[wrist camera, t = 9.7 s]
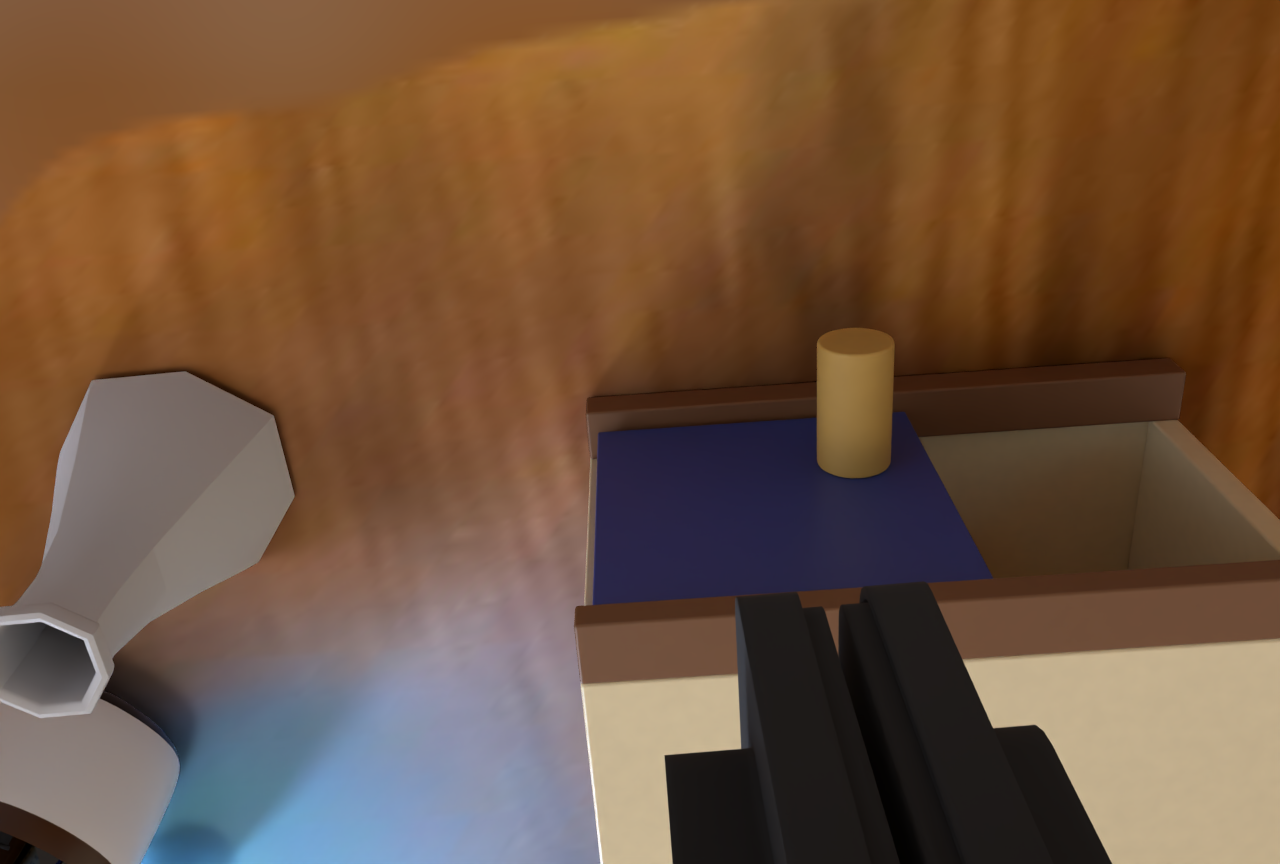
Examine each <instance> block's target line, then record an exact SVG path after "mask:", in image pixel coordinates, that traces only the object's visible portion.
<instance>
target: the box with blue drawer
mask: <svg viewBox="0 0 1280 864" xmlns="http://www.w3.org/2000/svg"><path fill="white" fill-rule="evenodd" d="M1185 378H1186V372H1185V371H1184V370H1183V369H1181V368H1180V367H1179V366H1178V365H1177V364H1176V363H1175V362H1173V361H1172V360H1171V359H1169V358H1163V359H1148V360H1134V361H1119V362H1104V363H1090V364H1075V365H1060V366H1046V367H1031V368H1016V369H1002V370H987V371H972V372H958V373H943V374H928V375H914V376H899V377H894V380H893V410H892V413H893V412H905V413H906V415H907V417H908V419H909V421H910V422H911V424H912V426H913V428H914V430H915V432H916V434H917V436H918V437H919V439H920V441H921V443H922V445H923V447H924V449H925V451H926V452H927V454H928V456H929V458H930V460H931V462H932V464H933V466H934V467H935V469H936V471H937V473H938V475H939V477H940V479H941V481H942V482H943V484H944V486H945V488H946V490H947V492H948V494H949V496H950V497H951V499H952V501H953V503H954V505H955V507H956V509H957V511H958V512H959V514H960V516H961V518H962V520H963V522H964V524H965V526H966V527H967V529H968V531H969V533H970V535H971V537H972V539H973V541H974V542H975V544H976V546H977V548H978V550H979V552H980V554H981V556H982V557H983V559H984V561H985V563H986V565H987V567H988V569H989V571H990V572H991V574H992V576H993V578H994V579H979V580H964V581H949V582H934V583H928V585H929V587H930V589H931V590H932V592H933V595H934V597H935V599H936V601H937V604H938V606H939V608H940V610H941V613H942V615H943V617H944V619H945V622H946V624H947V626H948V628H949V631H950V633H951V635H952V637H953V639H954V642H955V644H956V646H957V648H958V651H959V653H960V655H961V657H962V660H963V662H964V664H965V666H966V669H967V671H968V673H969V675H970V678H971V680H972V682H973V684H974V687H975V689H976V691H977V693H978V696H979V698H980V700H981V702H982V704H983V707H984V709H985V711H986V713H987V716H988V718H989V720H990V722H991V725H992V727H993V728H1002V727H1014V726H1026V725H1036V726H1038V727H1039V728H1040V729H1042V730H1043V731H1044V732H1045V734H1046V736H1047V737H1048V739H1049V740H1050V742H1051V743H1052V745H1053V747H1054V749H1055V751H1056V753H1057V755H1058V757H1059V759H1060V761H1061V763H1062V765H1063V767H1064V769H1065V771H1066V773H1067V775H1068V777H1069V779H1070V781H1071V783H1072V785H1073V787H1074V789H1075V791H1076V793H1077V795H1078V797H1079V799H1080V801H1081V803H1082V805H1083V807H1084V809H1085V811H1086V813H1087V815H1088V817H1089V819H1090V821H1091V823H1092V825H1093V827H1094V829H1095V831H1096V833H1097V835H1098V837H1099V839H1100V841H1101V842H1102V844H1103V846H1104V848H1105V850H1106V852H1107V854H1108V856H1109V858H1110V860H1111V862H1112V864H1280V520H1279V519H1278V518H1277V517H1276V516H1275V515H1274V514H1273V513H1272V512H1271V511H1270V510H1269V509H1268V508H1267V507H1266V506H1265V505H1264V504H1263V503H1262V502H1261V501H1260V500H1259V499H1258V498H1257V497H1256V496H1255V495H1254V494H1253V493H1252V492H1251V491H1250V490H1249V489H1248V488H1246V487H1245V486H1244V485H1243V484H1242V483H1241V482H1240V481H1239V480H1238V479H1237V478H1236V477H1235V476H1234V475H1233V474H1232V473H1231V472H1230V471H1229V470H1228V469H1227V468H1226V467H1225V466H1224V465H1223V464H1222V463H1221V462H1220V461H1219V460H1218V459H1217V458H1216V457H1215V456H1214V455H1213V454H1212V453H1211V452H1210V451H1209V450H1208V449H1207V448H1206V447H1205V446H1204V445H1203V444H1202V443H1201V442H1200V441H1198V440H1197V439H1196V438H1195V437H1194V436H1193V435H1192V434H1191V433H1190V432H1189V431H1188V430H1187V429H1186V428H1185V427H1184V426H1183V425H1182V424H1181V423H1180V422H1179V421H1178V420H1177V419H1179V416H1180V410H1181V403H1182V397H1183V390H1184V384H1185ZM804 418H817V382H811V383H796V384H782V385H767V386H752V387H738V388H723V389H708V390H694V391H679V392H664V393H650V394H635V395H620V396H606V397H591V398H587V403H586V421H587V431H588V442H589V452H590V458H591V459H590V482H589V505H588V529H587V552H586V575H585V598H584V606H577V607H576V608H575V620H574V630H575V639H576V648H577V657H578V666H579V675H580V681H581V693H582V702H583V711H584V720H585V729H586V738H587V747H588V756H589V765H590V774H591V783H592V791H593V800H594V809H595V818H596V827H597V836H598V845H599V854H600V863H601V864H673V861H672V848H671V835H670V822H669V809H668V796H667V783H666V770H665V756H664V755H673V754H685V753H697V752H709V751H721V750H734V749H741V734H740V711H739V689H738V666H737V644H736V621H735V599H736V597H740V596H752V595H764V594H752V595H737V596H722V597H706V598H691V599H676V600H661V601H646V602H631V603H615V604H600V605H593V577H594V546H595V514H596V482H597V450H598V433H599V432H612V431H627V430H642V429H657V428H671V427H686V426H701V425H716V424H730V423H745V422H760V421H775V420H789V419H804ZM862 588H863V587H858V588H843V589H828V590H812V591H797V593H798V595H799V598H800V601H801V605H802V608H807V607H819V606H822V607H823V608H824V610H825V613H826V616H827V620H828V623H829V626H830V630H831V633H832V636H833V640H834V643H835V646H836V650H837V653H838V632H839V609H840V606H841V605H843V604H855V603H859V600H860V593H861V589H862ZM782 593H788V592H782ZM767 594H776V593H767Z"/></svg>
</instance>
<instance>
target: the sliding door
mask: <svg viewBox="0 0 1280 864" xmlns="http://www.w3.org/2000/svg"><path fill="white" fill-rule="evenodd" d="M894 351H895V343H894V340H893V338H892V337H891V336H890V335H888V334H886V333H884V332H881V331H878V330H874V329H868V328H844V329H838V330H834V331H830V332H828V333H825V334H824V335H822V336H821V337H820V338H819V340H818V342H817V418H804V419H789V420H775V421H760V422H745V423H730V424H716V425H701V426H686V427H671V428H657V429H642V430H627V431H612V432H599V433H598V450H597V482H596V514H595V546H594V577H593V605H600V604H615V603H631V602H646V601H661V600H676V599H691V598H706V597H722V596H737V595H752V594H767V593H782V592H797V591H812V590H828V589H843V588H858V587H864V586H873V585H885V584H897V583H909V582H922V581H924V582H926V583H934V582H949V581H964V580H979V579H994V578H993V576H992V574H991V572H990V571H989V569H988V567H987V565H986V563H985V561H984V559H983V557H982V556H981V554H980V552H979V550H978V548H977V546H976V544H975V542H974V541H973V539H972V537H971V535H970V533H969V531H968V529H967V527H966V526H965V524H964V522H963V520H962V518H961V516H960V514H959V512H958V511H957V509H956V507H955V505H954V503H953V501H952V499H951V497H950V496H949V494H948V492H947V490H946V488H945V486H944V484H943V482H942V481H941V479H940V477H939V475H938V473H937V471H936V469H935V467H934V466H933V464H932V462H931V460H930V458H929V456H928V454H927V452H926V451H925V449H924V447H923V445H922V443H921V441H920V439H919V437H918V436H917V434H916V432H915V430H914V428H913V426H912V424H911V422H910V421H909V419H908V417H907V415H906V413H905V412H893V413H892V410H893V380H894Z"/></svg>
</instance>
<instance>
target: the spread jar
mask: <svg viewBox="0 0 1280 864" xmlns="http://www.w3.org/2000/svg"><path fill="white" fill-rule="evenodd" d="M179 772H180V763H179V756H178V752H177V749H176V748H175V746H174V744H173V743H172V741H171V740H170V739H169V738H168V737H167V735H166V734H165V733H164V732H163V731H162V730H161V729H160V728H159V727H158V726H157V725H156V724H155V723H154V722H153V721H152V720H151V719H149V718H148V717H147V716H146V715H144V714H143V713H142V712H140V711H139V710H138V709H136V708H135V707H133V706H132V705H130V704H129V703H127V702H125V701H124V700H122V699H121V698H119V697H117V696H115V695H113V694H111V693H109V692H107V691H105V690H104V691H103V693H102V695H101V697H100V699H99V701H98V703H97V705H96V707H95V708H94V710H93V711H92V713H91V714H81V715H70V716H58V717H47V718H38V717H36V716H34V715H31V714H29V713H26V712H24V711H21V710H19V709H16V708H14V707H11V706H9V705H7V704H4V703H2V702H0V864H141V862H142V860H143V858H144V856H145V854H146V852H147V849H148V847H149V845H150V843H151V841H152V839H153V837H154V835H155V833H156V831H157V829H158V827H159V825H160V822H161V820H162V818H163V816H164V814H165V811H166V809H167V807H168V805H169V803H170V800H171V798H172V795H173V793H174V790H175V787H176V784H177V781H178V777H179Z"/></svg>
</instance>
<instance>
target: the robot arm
mask: <svg viewBox="0 0 1280 864" xmlns="http://www.w3.org/2000/svg"><path fill="white" fill-rule="evenodd" d="M735 621H736V644H737V666H738V689H739V711H740V734H741V749H734V750H721V751H709V752H697V753H685V754H673V755H664V756H665V770H666V783H667V796H668V809H669V822H670V835H671V848H672V861H673V864H1112V862H1111V860H1110V858H1109V856H1108V854H1107V852H1106V850H1105V848H1104V846H1103V844H1102V842H1101V841H1100V839H1099V837H1098V835H1097V833H1096V831H1095V829H1094V827H1093V825H1092V823H1091V821H1090V819H1089V817H1088V815H1087V813H1086V811H1085V809H1084V807H1083V805H1082V803H1081V801H1080V799H1079V797H1078V795H1077V793H1076V791H1075V789H1074V787H1073V785H1072V783H1071V781H1070V779H1069V777H1068V775H1067V773H1066V771H1065V769H1064V767H1063V765H1062V763H1061V761H1060V759H1059V757H1058V755H1057V753H1056V751H1055V749H1054V747H1053V745H1052V743H1051V742H1050V740H1049V739H1048V737H1047V736H1046V734H1045V732H1044V731H1043V730H1042V729H1040V728H1039V727H1038V726H1036V725H1026V726H1014V727H1002V728H993V727H992V725H991V722H990V720H989V718H988V716H987V713H986V711H985V709H984V707H983V704H982V702H981V700H980V698H979V696H978V693H977V691H976V689H975V687H974V684H973V682H972V680H971V678H970V675H969V673H968V671H967V669H966V666H965V664H964V662H963V660H962V657H961V655H960V653H959V651H958V648H957V646H956V644H955V642H954V639H953V637H952V635H951V633H950V631H949V628H948V626H947V624H946V622H945V619H944V617H943V615H942V613H941V610H940V608H939V606H938V604H937V601H936V599H935V597H934V595H933V592H932V590H931V589H930V587H929V585H928V583H926V582H924V581H922V582H909V583H897V584H885V585H873V586H864V587H863V588H862V589H861V593H860V600H859V603H855V604H843V605H841V606H840V609H839V632H838V653H837V650H836V646H835V643H834V640H833V636H832V633H831V630H830V626H829V623H828V620H827V616H826V613H825V610H824V608H823V607H822V606H819V607H807V608H802V605H801V601H800V598H799V595H798V593H797V592H788V593H776V594H764V595H752V596H740V597H736V599H735Z"/></svg>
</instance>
